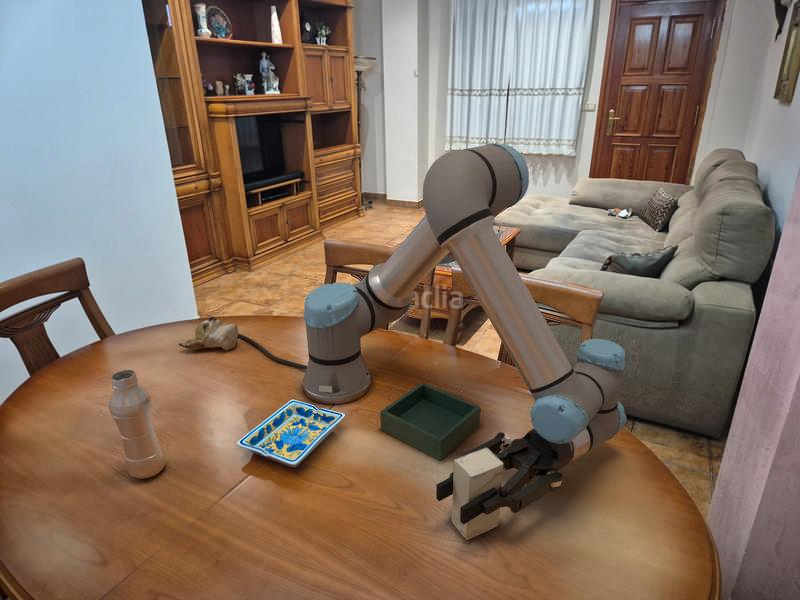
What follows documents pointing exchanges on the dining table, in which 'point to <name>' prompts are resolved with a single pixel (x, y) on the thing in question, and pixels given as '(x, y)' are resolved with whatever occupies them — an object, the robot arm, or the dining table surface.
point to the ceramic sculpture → (213, 335)
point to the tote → (430, 420)
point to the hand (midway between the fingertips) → (449, 504)
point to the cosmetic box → (475, 489)
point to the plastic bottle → (136, 426)
